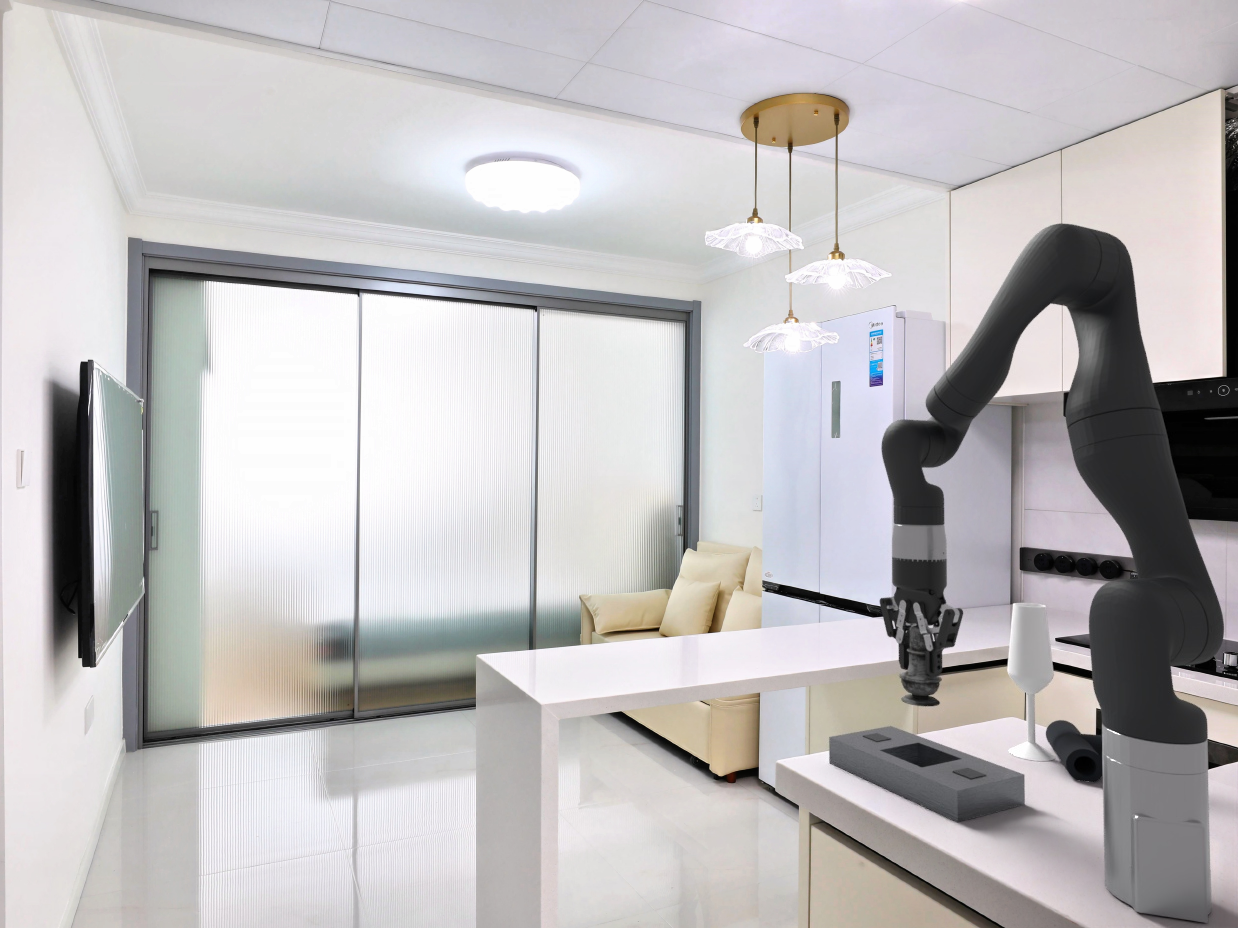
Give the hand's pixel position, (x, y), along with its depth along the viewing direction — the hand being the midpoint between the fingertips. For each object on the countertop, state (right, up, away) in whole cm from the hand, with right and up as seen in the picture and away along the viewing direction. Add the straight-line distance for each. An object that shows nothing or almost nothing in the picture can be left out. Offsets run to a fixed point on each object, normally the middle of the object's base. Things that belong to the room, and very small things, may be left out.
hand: (919, 671), depth 114 cm
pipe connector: (+30, -17, +6) cm, 35 cm away
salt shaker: (0, -4, 0) cm, 4 cm away
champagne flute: (+23, -17, +12) cm, 31 cm away
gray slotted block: (0, -16, -1) cm, 16 cm away
